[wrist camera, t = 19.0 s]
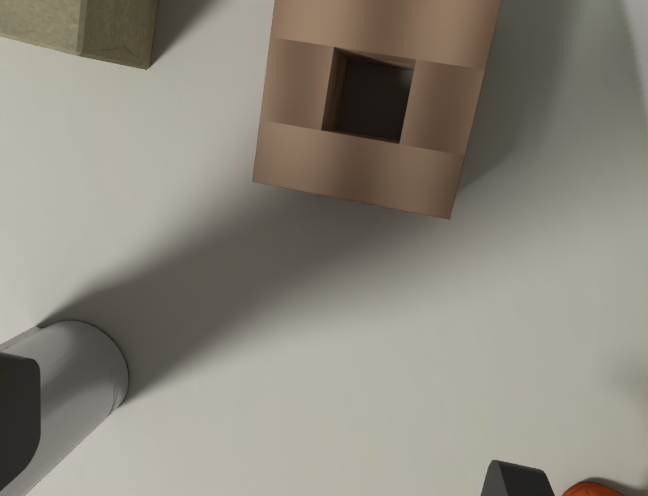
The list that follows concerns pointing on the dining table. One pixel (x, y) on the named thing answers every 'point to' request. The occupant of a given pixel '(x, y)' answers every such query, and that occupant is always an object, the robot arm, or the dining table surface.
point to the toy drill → (590, 490)
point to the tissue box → (85, 27)
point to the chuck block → (327, 86)
